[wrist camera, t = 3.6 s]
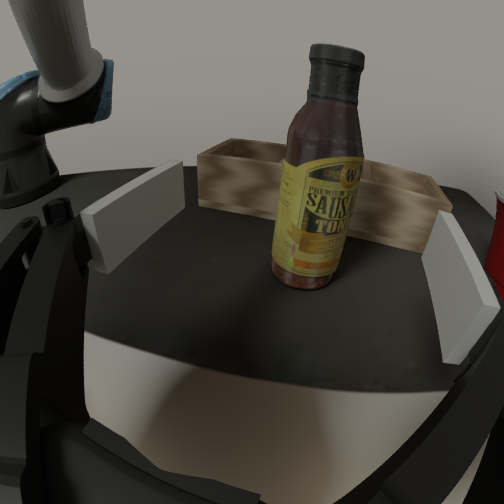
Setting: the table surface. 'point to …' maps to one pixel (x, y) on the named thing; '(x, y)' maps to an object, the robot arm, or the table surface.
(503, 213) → the plastic cup
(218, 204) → the wooden compartment box
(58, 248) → the robot arm
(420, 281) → the table surface
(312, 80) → the sauce bottle
